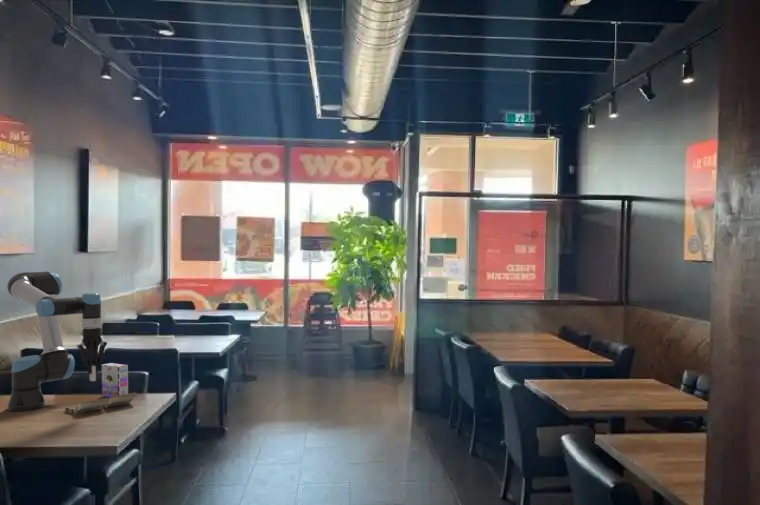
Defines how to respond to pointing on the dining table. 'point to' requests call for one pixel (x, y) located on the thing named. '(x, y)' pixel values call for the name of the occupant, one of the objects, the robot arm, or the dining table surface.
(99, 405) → the plank
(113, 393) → the candy box
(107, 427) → the dining table surface
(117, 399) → the plank
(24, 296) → the robot arm
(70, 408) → the floor board
